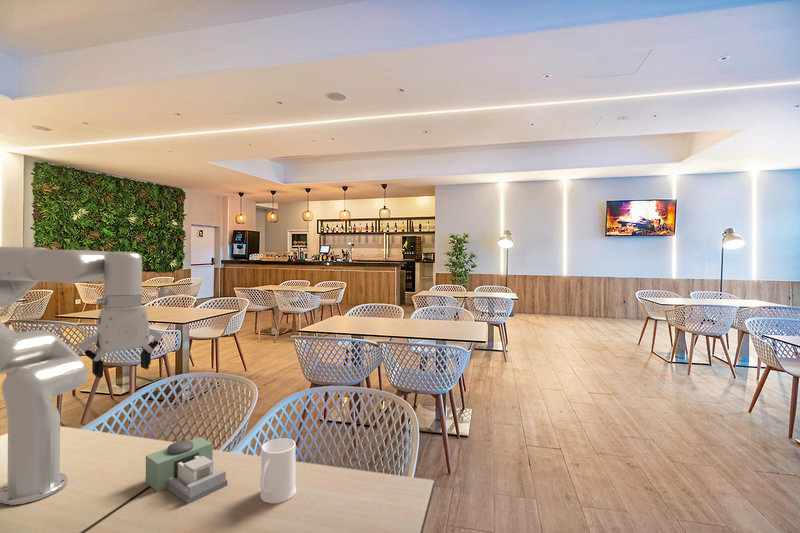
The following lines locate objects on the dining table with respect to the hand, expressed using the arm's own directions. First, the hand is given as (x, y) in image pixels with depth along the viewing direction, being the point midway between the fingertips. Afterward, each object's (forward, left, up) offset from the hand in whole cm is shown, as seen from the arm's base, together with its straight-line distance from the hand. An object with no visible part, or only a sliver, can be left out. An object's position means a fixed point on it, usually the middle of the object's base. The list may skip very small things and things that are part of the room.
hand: (122, 372), depth 95 cm
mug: (+30, +22, -31) cm, 48 cm away
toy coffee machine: (+7, +13, -30) cm, 34 cm away
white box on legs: (+10, +13, -29) cm, 33 cm away
